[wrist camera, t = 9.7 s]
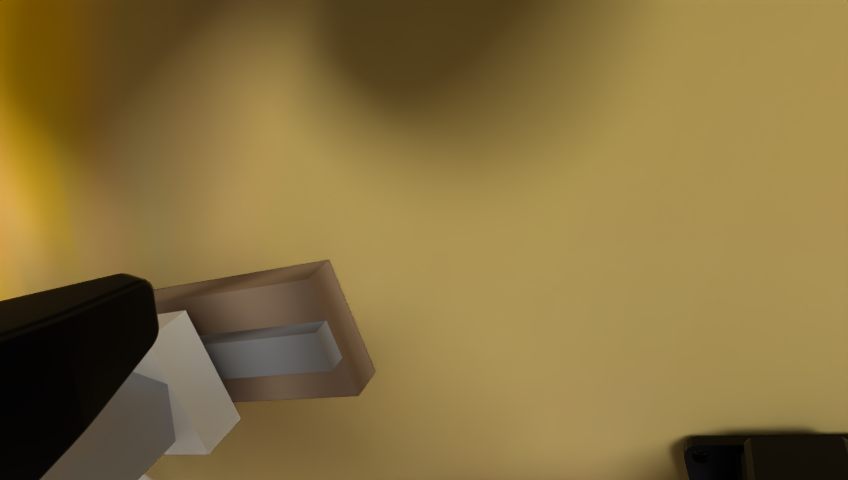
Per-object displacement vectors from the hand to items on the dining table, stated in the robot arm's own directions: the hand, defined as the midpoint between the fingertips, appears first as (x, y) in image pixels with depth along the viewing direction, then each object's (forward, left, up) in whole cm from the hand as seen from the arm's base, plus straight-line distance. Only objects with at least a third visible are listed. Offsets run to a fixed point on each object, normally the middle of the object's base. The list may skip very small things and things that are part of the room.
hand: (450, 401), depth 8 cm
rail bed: (-5, +16, -12) cm, 21 cm away
